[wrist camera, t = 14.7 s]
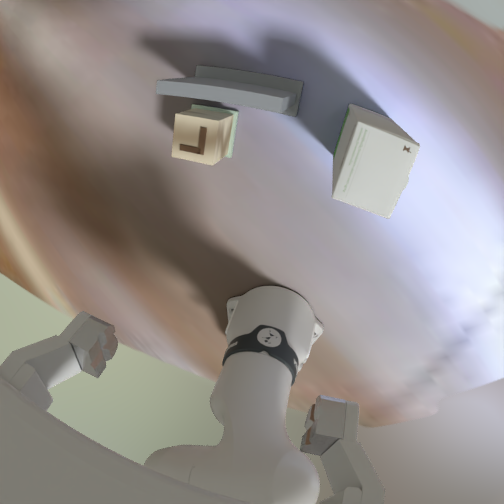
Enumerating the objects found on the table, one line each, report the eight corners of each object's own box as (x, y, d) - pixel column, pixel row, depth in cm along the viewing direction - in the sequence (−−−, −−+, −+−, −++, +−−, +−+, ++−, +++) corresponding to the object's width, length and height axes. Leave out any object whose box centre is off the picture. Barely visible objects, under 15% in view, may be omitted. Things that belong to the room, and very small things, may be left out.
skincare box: (349, 102, 37) (356, 114, 24) (395, 119, 36) (424, 143, 24) (331, 157, 42) (327, 198, 29) (375, 174, 41) (391, 222, 28)
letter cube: (227, 154, 45) (212, 166, 39) (190, 146, 45) (170, 157, 40) (233, 114, 41) (218, 121, 36) (194, 108, 42) (174, 113, 37)
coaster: (231, 156, 45) (230, 157, 45) (188, 147, 46) (186, 148, 46) (238, 111, 41) (237, 111, 41) (193, 103, 42) (191, 104, 42)
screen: (296, 116, 40) (281, 130, 30) (194, 97, 42) (150, 107, 32) (303, 81, 37) (291, 83, 27) (198, 65, 39) (155, 65, 29)
